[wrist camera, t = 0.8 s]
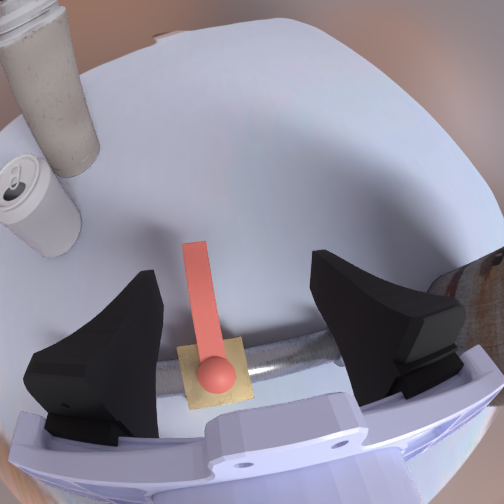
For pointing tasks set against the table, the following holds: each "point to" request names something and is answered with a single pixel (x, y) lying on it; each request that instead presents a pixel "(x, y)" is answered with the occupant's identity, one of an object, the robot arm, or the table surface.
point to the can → (37, 206)
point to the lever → (206, 321)
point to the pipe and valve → (244, 367)
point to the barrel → (479, 307)
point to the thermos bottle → (47, 82)
